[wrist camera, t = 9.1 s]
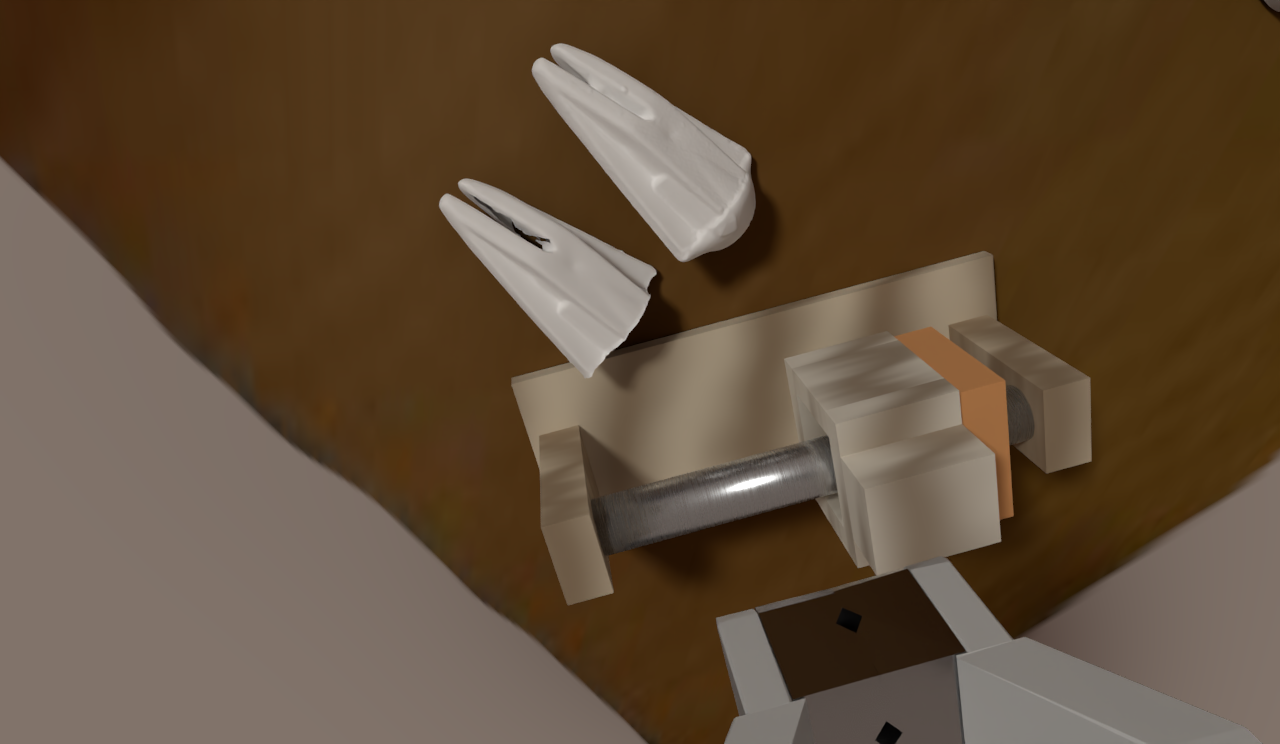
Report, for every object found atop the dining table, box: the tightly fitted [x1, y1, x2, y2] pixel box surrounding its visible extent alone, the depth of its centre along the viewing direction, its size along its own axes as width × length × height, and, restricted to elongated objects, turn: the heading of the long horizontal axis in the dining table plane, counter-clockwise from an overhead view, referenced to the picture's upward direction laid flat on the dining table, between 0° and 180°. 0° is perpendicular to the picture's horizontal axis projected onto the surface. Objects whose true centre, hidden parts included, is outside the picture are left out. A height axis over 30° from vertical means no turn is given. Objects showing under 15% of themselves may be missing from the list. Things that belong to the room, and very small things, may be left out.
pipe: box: [591, 385, 1035, 556], centre depth 36 cm, size 19×3×3 cm, turn 103°
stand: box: [512, 251, 1091, 605], centre depth 38 cm, size 24×10×9 cm, turn 103°
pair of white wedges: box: [439, 43, 756, 379], centre depth 35 cm, size 12×4×11 cm
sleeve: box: [784, 331, 1001, 575], centre depth 35 cm, size 5×7×10 cm
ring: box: [894, 327, 1014, 520], centre depth 36 cm, size 2×6×6 cm, turn 13°
